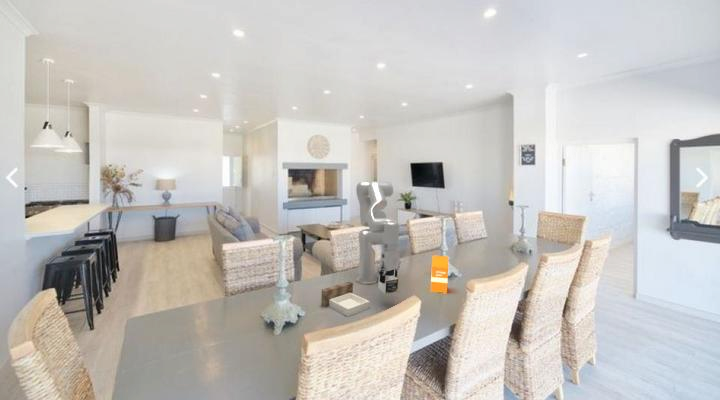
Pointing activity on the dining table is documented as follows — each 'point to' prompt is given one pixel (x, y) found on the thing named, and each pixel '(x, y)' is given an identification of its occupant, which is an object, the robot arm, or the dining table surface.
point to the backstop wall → (335, 292)
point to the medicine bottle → (389, 283)
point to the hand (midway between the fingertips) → (388, 280)
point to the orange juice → (439, 274)
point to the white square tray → (349, 304)
